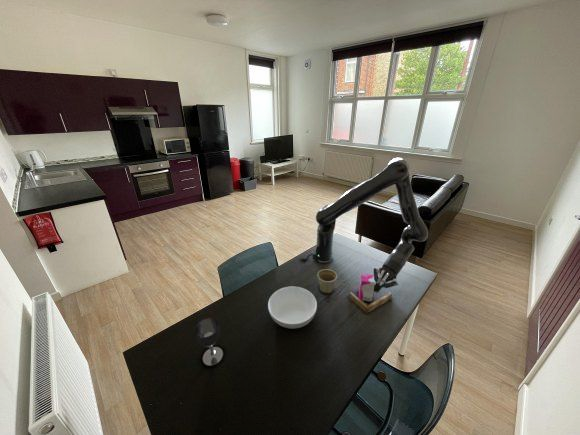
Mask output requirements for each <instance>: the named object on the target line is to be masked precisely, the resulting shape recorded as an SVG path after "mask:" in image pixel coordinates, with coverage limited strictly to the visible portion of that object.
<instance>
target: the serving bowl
mask: <svg viewBox="0 0 580 435" xmlns="http://www.w3.org/2000/svg"><path fill="white" fill-rule="evenodd" d="M317 309H318V302H317V298H316V297H315V295H314V294H313V293H312V292H311V291H310V290H307V289H306V288H304V287H302V286H301V287H300V286H295V285H294V286H293V285H291V286H285V287H282V288H279V289H278V290H275V291H274V292H273V293H272V294H271V296H270V297H269V299H268V301H267V310H268V313H269V315H270V317H271V319H272V320H273V321H274V323H276V324H277V325H278V326H280V327H283V328H285V329H292V330H293V329H300V328H302V327H305V326H307V325H308V324H309V323H310V322H311V321H312V320H313V319H314V317H315V316H316V313H317Z"/></svg>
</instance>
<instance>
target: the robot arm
mask: <svg viewBox="0 0 580 435" xmlns="http://www.w3.org/2000/svg"><path fill="white" fill-rule="evenodd" d="M392 186H395V189H396V194H397V199H398V205H399V210H400V214H401V217H402V220H403V222H404V223H406V224H407V226H406V227H405V228H404V229H403V231H402V234H401V237H400V239H399V241H398V244H397V245H396V246H395V247H394V249H393V250H392V251H391V253H390V254H388V256H387V258H386V259H385V261H384V262H383V264H382V266H380V267H379V268H376V267H374V268H373V275H374V281H375V285H374V291H373V293H375V294H378V293H380V292H381V290H382V289H383V288H385V289H389V288H392V287H396V286H399V283H398V282H397V276H398V275H399V273H400V272H401V271H402V269H403V268H404V266H405V265H406V264H407V262H408V260H409V258H410V257H411V255H412V254H413V253H414V251H415V246H414V245H413V244H412V242H413V241H416V242H419V243H422V242H425V241H426V240H427V239H428V237H429V229H428V227H427V225H426V224H425V222H424V220H423V219H422V217H421V216H420V211H419V208H418V205H417V202H416V198H415V195H414V192H413V189H412V184H411V179H410V165H409V162H408V161H407V160H406V159H404V158H402V157H396V158H393V159H392V160H390V161H389V163H388V164H387V165H386V167H385V168H383V169H382V170H381V171H380V172H378V173H377V174H376V175H374V176H372V177H371V178H369V179H366V180H364V181H362V182H360V183H357V184H356V185H354V186H353V187H351V188H350V189H349V190H347V191H346V192H344V194H342V195H341V196H339V198H338V199H337V200H335V202H333V203H332V204H330V205H329V204H326V205H324V206H321V208H319V210H318V211H317V212H316V216H315V221H316V223H317V224H318V226H317V228H316V244H315V249H312V253H310V254H308V255H307V257H306V258H301V259H300V260H301V261H307V260H308V259H309V257H310V256H312V260H315V261H316V262H318V263H321V264H328V263H330V262H332V256H333V245H334V244H333V242H334V232H335V229H336V222H337V219H338V218H339V217H341V216H343V215H344V214H346V213H348V212H350V211H352V210H354V209H356V208H357V207H360V206H361V205H363V204H365V203H366V202H368V201H369V200H370V199H372V198H373V197H375V196H377V195H378V194H379V193H381V192H383V191H384V190H385V189H388V188H389V187H392Z"/></svg>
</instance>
